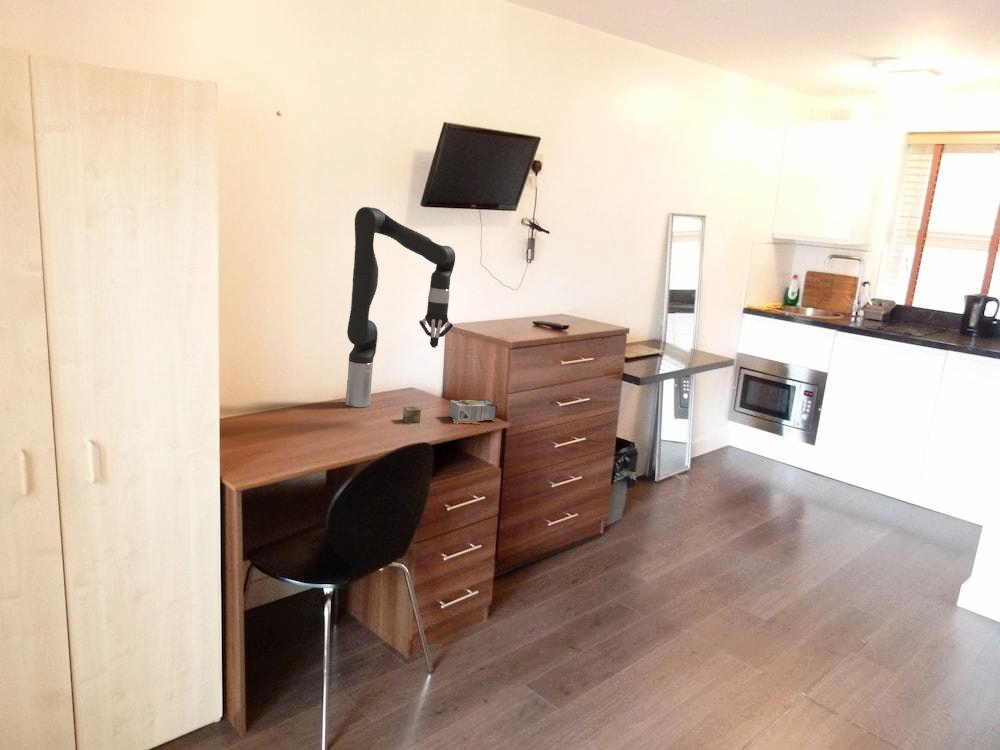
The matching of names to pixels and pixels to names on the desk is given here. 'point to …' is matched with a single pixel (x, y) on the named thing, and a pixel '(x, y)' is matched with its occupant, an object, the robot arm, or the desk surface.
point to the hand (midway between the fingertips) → (433, 347)
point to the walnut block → (411, 414)
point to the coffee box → (472, 410)
